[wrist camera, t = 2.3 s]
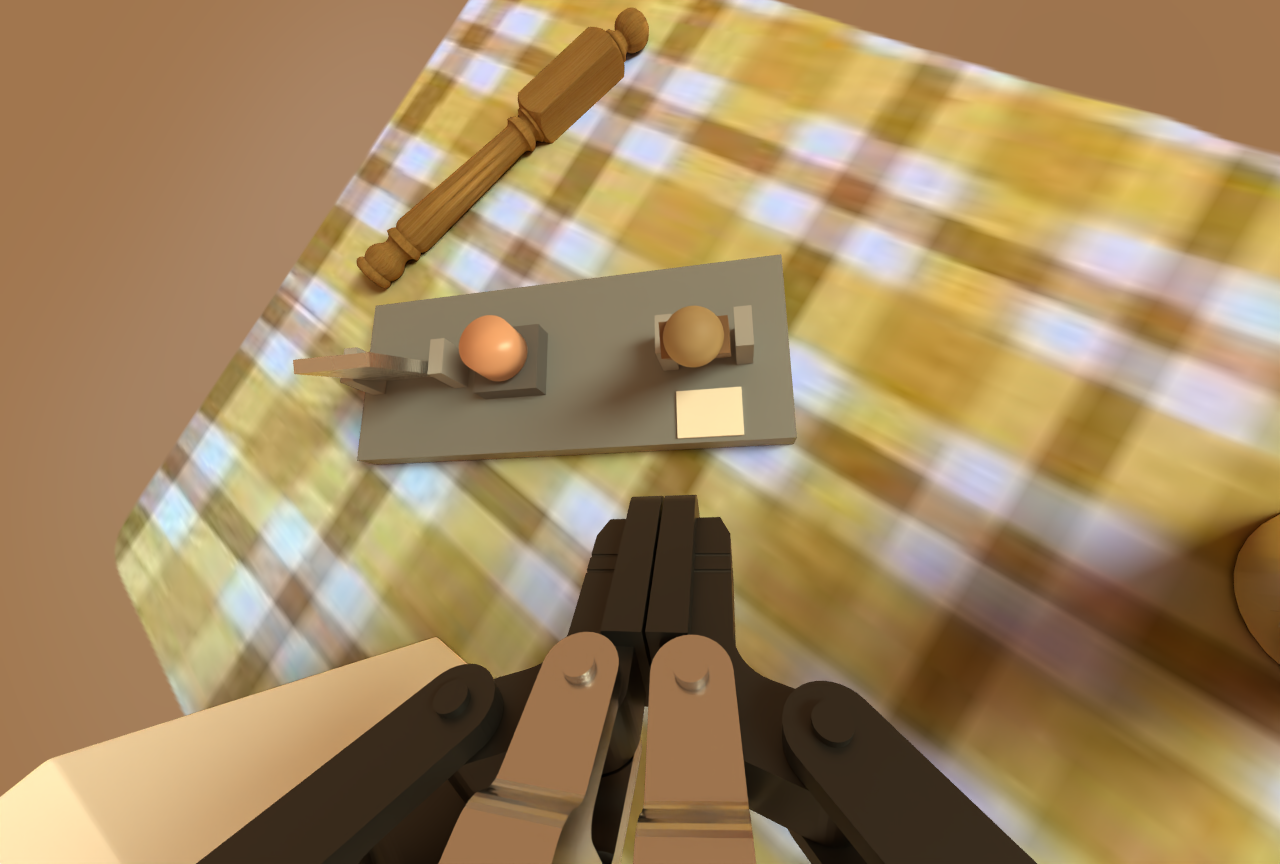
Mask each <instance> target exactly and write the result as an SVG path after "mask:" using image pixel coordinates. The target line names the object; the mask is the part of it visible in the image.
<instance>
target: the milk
mask: <svg viewBox="0 0 1280 864" xmlns="http://www.w3.org/2000/svg"><path fill="white" fill-rule="evenodd" d="M463 664H467V663H466V662H465V661H464V660H462V659H461V658H460V657H459V656H458V655H457V654H456V653H454V652H453V651H452V650H451V649H450V648H449V647H448V646H447V645H445V644H444V643H443V642H442V641H441V640H440V639H439V638H437V637H434V638H431V639H428V640H424V641H421V642H418V643H415V644H412V645H409V646H405V647H402V648H399V649H396V650H393V651H389V652H386V653H383V654H380V655H377V656H374V657H370V658H367V659H364V660H361V661H358V662H355V663H351V664H348V665H345V666H342V667H339V668H336V669H332V670H329V671H326V672H323V673H320V674H317V675H313V676H310V677H307V678H304V679H301V680H298V681H294V682H291V683H288V684H285V685H282V686H279V687H275V688H272V689H269V690H266V691H263V692H260V693H256V694H253V695H250V696H247V697H244V698H241V699H237V700H234V701H231V702H228V703H225V704H222V705H218V706H215V707H212V708H209V709H206V710H202V711H199V712H196V713H193V714H190V715H187V716H183V717H180V718H177V719H174V720H171V721H168V722H164V723H161V724H158V725H155V726H152V727H149V728H146V729H142V730H139V731H136V732H133V733H130V734H126V735H123V736H120V737H117V738H114V739H111V740H107V741H104V742H101V743H98V744H95V745H92V746H88V747H85V748H82V749H79V750H76V751H73V752H69V753H66V754H63V755H60V756H57V757H54V758H51V759H49V760H47V761H45V762H44V763H43V764H42V765H40V766H39V767H37V768H36V769H35V770H34V771H32V772H31V773H30V774H29V775H27V776H26V777H25V778H24V779H22V780H21V781H20V782H19V783H17V784H16V785H15V786H14V787H12V788H11V789H10V790H9V791H7V792H6V793H5V794H4V795H2V796H1V797H0V864H196V863H197V862H199V861H200V860H201V859H202V858H204V857H205V856H206V855H208V854H209V853H210V852H212V851H213V850H214V849H215V848H217V847H218V846H219V845H221V844H222V843H223V842H224V841H226V840H227V839H228V838H230V837H231V836H232V835H233V834H235V833H236V832H237V831H239V830H240V829H241V828H242V827H244V826H245V825H246V824H248V823H249V822H250V821H251V820H253V819H254V818H255V817H257V816H258V815H259V814H261V813H262V812H263V811H264V810H266V809H267V808H268V807H270V806H271V805H272V804H273V803H275V802H276V801H277V800H279V799H280V798H281V797H282V796H284V795H285V794H286V793H288V792H289V791H290V790H291V789H293V788H294V787H295V786H297V785H298V784H299V783H301V782H302V781H303V780H304V779H306V778H307V777H308V776H310V775H311V774H312V773H313V772H315V771H316V770H317V769H319V768H320V767H321V766H322V765H324V764H325V763H326V762H328V761H329V760H330V759H331V758H333V757H334V756H335V755H337V754H338V753H339V752H340V751H342V750H343V749H344V748H346V747H347V746H348V745H350V744H351V743H352V742H353V741H355V740H356V739H357V738H359V737H360V736H361V735H362V734H364V733H365V732H366V731H368V730H369V729H370V728H371V727H373V726H374V725H375V724H377V723H378V722H379V721H380V720H382V719H383V718H384V717H386V716H387V715H388V714H390V713H391V712H392V711H393V710H395V709H396V708H397V707H399V706H400V705H401V704H402V703H404V702H405V701H406V700H408V699H409V698H410V697H411V696H413V695H414V694H415V693H417V692H418V691H419V690H420V689H422V688H423V687H424V686H426V685H427V684H428V683H430V682H431V681H432V680H433V679H435V678H436V677H437V676H439V675H440V674H442V673H443V672H445V671H447V670H448V669H450V668H453V667H455V666H459V665H463Z"/></svg>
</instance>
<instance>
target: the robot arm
mask: <svg viewBox="0 0 1280 864" xmlns="http://www.w3.org/2000/svg"><path fill="white" fill-rule="evenodd" d="M1234 592H1235V596H1236V600H1237V603H1238V607H1239V611H1240V613H1241V615H1242V617H1243V619H1244V621H1245V623H1246V625H1247V627H1248V629H1249V631H1250V633H1251V634H1252V635H1253V636H1254V638H1255V639H1256V640H1257V641H1258V643H1259V644H1260V645H1261V647H1262V648H1263V649H1264V650H1265V652H1266V653H1267V654H1268V655H1269V656H1271V657H1272V658H1273V659H1274V660H1275V661H1276V662H1277V663H1278V664H1279V665H1280V514H1279V515H1278V516H1276V517H1274V518H1272V519H1270V520H1268V521H1267V522H1265V523H1263V524H1262V525H1261V526H1260V527H1258V528H1257V529H1256V530H1255V531H1254V532H1253V533H1252V534H1251V535H1250V536H1249V537H1248V538H1247V540H1246V542H1245V543H1244V545H1243V547H1242V548H1241V550H1240V552H1239V554H1238V558H1237V561H1236V565H1235V569H1234ZM644 706H646V707H648V729H647V751H646V774H645V795H644V805H643V810H642V813H641V814H640V816H639V818H638V822H637V828H636V835H635V845H634V860H633V864H756V859H755V850H754V842H753V833H752V825H751V818H750V812H749V809H751V810H752V811H754V812H756V813H758V814H760V815H762V816H764V817H766V818H768V819H770V820H772V821H774V822H776V823H778V824H780V825H782V826H784V827H786V828H788V830H789V832H790V834H791V835H792V837H793V838H794V840H795V841H796V843H797V844H798V845H799V847H800V848H801V850H802V851H803V852H804V854H805V855H806V857H807V858H808V859H809V861H810V862H811V864H1037V863H1036V862H1035V861H1034V860H1033V859H1032V858H1031V857H1030V856H1029V855H1028V854H1027V853H1025V852H1024V851H1023V850H1022V849H1021V848H1020V847H1019V846H1018V845H1017V844H1016V843H1015V842H1014V841H1013V840H1012V839H1011V838H1010V837H1009V836H1008V835H1007V834H1005V833H1004V832H1003V831H1002V830H1001V829H1000V828H999V827H998V826H997V825H996V824H995V823H994V822H993V821H992V820H991V819H990V818H989V817H988V816H987V815H985V814H984V813H983V812H982V811H981V810H980V809H979V808H978V807H977V806H976V805H975V804H974V803H973V802H972V801H971V800H970V799H969V798H968V797H967V796H966V795H964V794H963V793H962V792H961V791H960V790H959V789H958V788H957V787H956V786H955V785H954V784H953V783H952V782H951V781H950V780H949V779H948V778H947V777H946V776H944V775H943V774H942V773H941V772H940V771H939V770H938V769H937V768H936V767H935V766H934V765H933V764H932V763H931V762H930V761H929V760H928V759H927V758H926V757H925V756H923V755H922V754H921V753H920V752H919V751H918V750H917V749H916V748H915V747H914V746H913V745H912V744H911V743H910V742H909V741H908V740H907V739H906V738H905V737H903V736H902V735H901V734H900V733H899V732H898V731H897V730H896V729H895V728H894V727H893V726H892V725H891V724H890V723H889V722H888V721H887V720H886V719H885V718H884V717H882V716H881V715H880V714H879V713H878V712H877V711H876V710H875V709H874V708H873V707H872V706H871V705H870V704H869V703H868V702H867V701H866V700H865V699H863V698H862V697H861V696H860V695H859V694H857V693H856V692H854V691H853V690H851V689H849V688H847V687H845V686H843V685H840V684H837V683H834V682H828V681H814V682H809V683H806V684H803V685H801V686H800V687H798V688H796V689H794V688H791V687H788V686H786V685H783V684H780V683H778V682H775V681H772V680H770V679H768V678H765V677H763V676H761V675H760V674H758V673H757V672H755V671H754V670H753V669H752V668H750V667H749V666H748V665H747V664H746V663H745V661H744V660H743V659H742V657H741V656H740V654H739V652H738V650H737V648H736V640H735V612H734V585H733V568H732V553H731V538H730V533H729V531H728V529H727V528H726V526H725V524H724V523H723V521H722V519H721V518H720V517H709V518H700V517H699V507H698V499H697V495H679V496H665V498H664V496H648V497H632V498H631V501H630V505H629V509H628V514H627V518H626V519H611V520H610V521H609V522H608V523H607V524H606V525H605V527H604V528H603V529H602V530H601V531H600V533H599V534H598V535H597V538H596V541H595V544H594V548H593V551H592V558H590V562H589V565H588V568H587V573H586V575H585V579H584V582H583V585H582V589H581V592H580V596H579V599H578V602H577V606H576V609H575V613H574V616H573V619H572V623H571V626H570V630H569V632H568V635H567V637H566V638H564V639H562V640H561V641H559V642H558V643H557V644H556V645H555V646H554V647H553V648H552V649H551V650H550V651H549V653H548V654H547V656H546V657H545V659H544V661H543V663H541V664H539V665H537V666H535V667H532V668H530V669H527V670H523V671H520V672H516V673H513V674H509V675H506V676H502V677H499V678H495V679H493V677H492V675H491V674H490V672H489V671H488V670H487V669H486V668H484V667H482V666H480V665H477V664H463V665H459V666H455V667H453V668H450V669H448V670H447V671H445V672H443V673H442V674H440V675H439V676H437V677H436V678H435V679H433V680H432V681H431V682H430V683H428V684H427V685H426V686H424V687H423V688H422V689H420V690H419V691H418V692H417V693H415V694H414V695H413V696H411V697H410V698H409V699H408V700H406V701H405V702H404V703H402V704H401V705H400V706H399V707H397V708H396V709H395V710H393V711H392V712H391V713H390V714H388V715H387V716H386V717H384V718H383V719H382V720H380V721H379V722H378V723H377V724H375V725H374V726H373V727H371V728H370V729H369V730H368V731H366V732H365V733H364V734H362V735H361V736H360V737H359V738H357V739H356V740H355V741H353V742H352V743H351V744H350V745H348V746H347V747H346V748H344V749H343V750H342V751H340V752H339V753H338V754H337V755H335V756H334V757H333V758H331V759H330V760H329V761H328V762H326V763H325V764H324V765H322V766H321V767H320V768H319V769H317V770H316V771H315V772H313V773H312V774H311V775H310V776H308V777H307V778H306V779H304V780H303V781H302V782H301V783H299V784H298V785H297V786H295V787H294V788H293V789H291V790H290V791H289V792H288V793H286V794H285V795H284V796H282V797H281V798H280V799H279V800H277V801H276V802H275V803H273V804H272V805H271V806H270V807H268V808H267V809H266V810H264V811H263V812H262V813H261V814H259V815H258V816H257V817H255V818H254V819H253V820H251V821H250V822H249V823H248V824H246V825H245V826H244V827H242V828H241V829H240V830H239V831H237V832H236V833H235V834H233V835H232V836H231V837H230V838H228V839H227V840H226V841H224V842H223V843H222V844H221V845H219V846H218V847H217V848H215V849H214V850H213V851H212V852H210V853H209V854H208V855H206V856H205V857H204V858H202V859H201V860H200V861H199V862H197V863H196V864H620V862H621V857H622V851H623V846H624V841H625V835H626V830H627V825H628V820H629V814H630V809H631V804H632V799H633V793H634V788H635V783H636V778H637V772H638V767H639V762H640V756H641V750H642V740H641V730H642V722H643V714H644Z"/></svg>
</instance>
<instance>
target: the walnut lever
mask: <svg viewBox="0 0 1280 864" xmlns="http://www.w3.org/2000/svg"><path fill="white" fill-rule="evenodd" d="M658 323H659V336H660V349H661V359H667V360H674V361H675V362H676V363H678V364H680V365H682V366H686V367H700V366H703V365H706V364H708V363H709V362H711V361H712V360H713V359H714V358H725V357H731V344H730V329H729V321H728V315H723V316H716V315H715V314H714V313H713V312H712V311H710V310H709V309H707V308H704V307H701V306H687V307H684V308H681V309H679V310H678V311H676V312H675V313H674V314H673V315H672V316H671V317H670V318H669V319H668V321H665V322H658Z"/></svg>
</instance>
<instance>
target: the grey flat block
mask: <svg viewBox="0 0 1280 864" xmlns="http://www.w3.org/2000/svg"><path fill="white" fill-rule="evenodd" d="M428 362H429V361H422V360H416V359H410V358H403V357H397V356H390V355H384V354H378V353H371V352H365V353H356V354H346V355H336V356H327V357H317V358H308V359H298V360H293V364H294V374H300V375H312V376H325V377H337V378H350V379H362V380H375V381H390V380H402V379H413V378H424V377H432V376H430V375H428V374H427V373H428Z"/></svg>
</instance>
